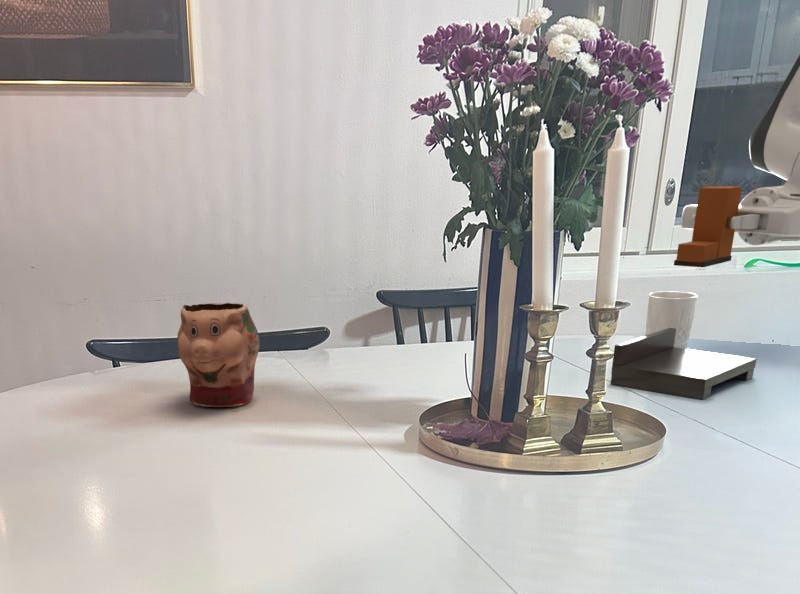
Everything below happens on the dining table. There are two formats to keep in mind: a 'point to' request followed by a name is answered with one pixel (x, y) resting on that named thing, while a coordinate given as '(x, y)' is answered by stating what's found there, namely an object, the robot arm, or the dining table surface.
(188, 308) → the decorative planter
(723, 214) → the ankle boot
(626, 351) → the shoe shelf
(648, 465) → the dining table surface
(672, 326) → the white cup
